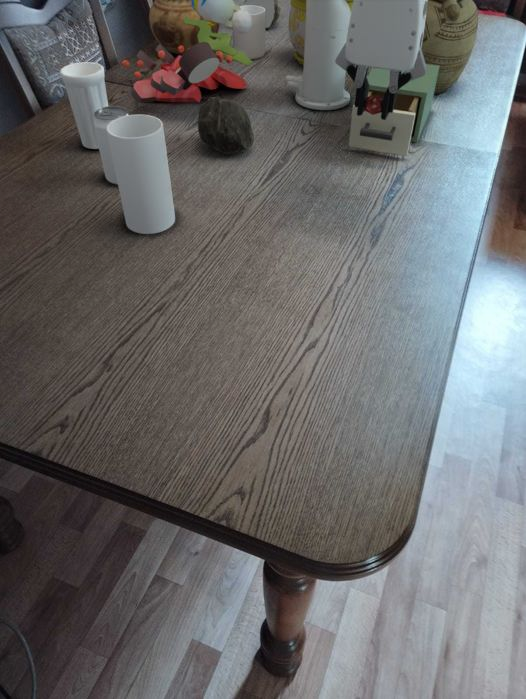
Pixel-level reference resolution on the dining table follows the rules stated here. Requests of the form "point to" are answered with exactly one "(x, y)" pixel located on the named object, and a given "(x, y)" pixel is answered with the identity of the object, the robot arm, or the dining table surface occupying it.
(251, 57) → the mug
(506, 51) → the dining table surface
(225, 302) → the dining table surface
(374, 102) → the die
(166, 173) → the cup
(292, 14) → the flowerpot
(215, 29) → the clay pot
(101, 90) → the cup
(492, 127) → the dining table surface
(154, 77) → the sushi set
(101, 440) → the dining table surface
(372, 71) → the cabinet
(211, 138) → the rock
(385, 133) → the drawer
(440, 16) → the ceramic vessel
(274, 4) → the sculpture
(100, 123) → the can
